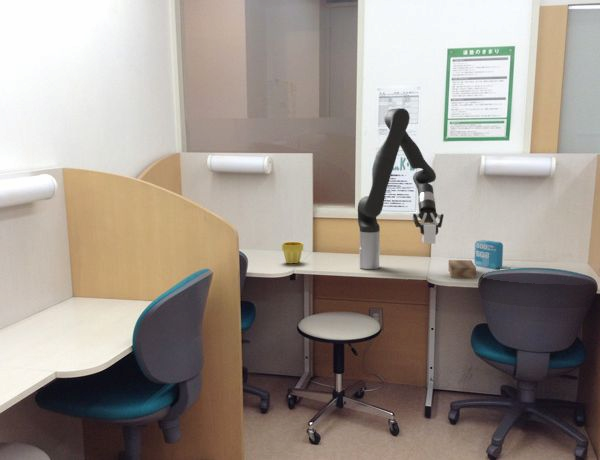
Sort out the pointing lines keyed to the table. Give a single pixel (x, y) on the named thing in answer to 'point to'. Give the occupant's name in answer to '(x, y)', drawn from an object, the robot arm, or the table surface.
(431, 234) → the white block
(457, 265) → the walnut block
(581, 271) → the table surface
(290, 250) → the plant pot
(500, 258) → the data package
